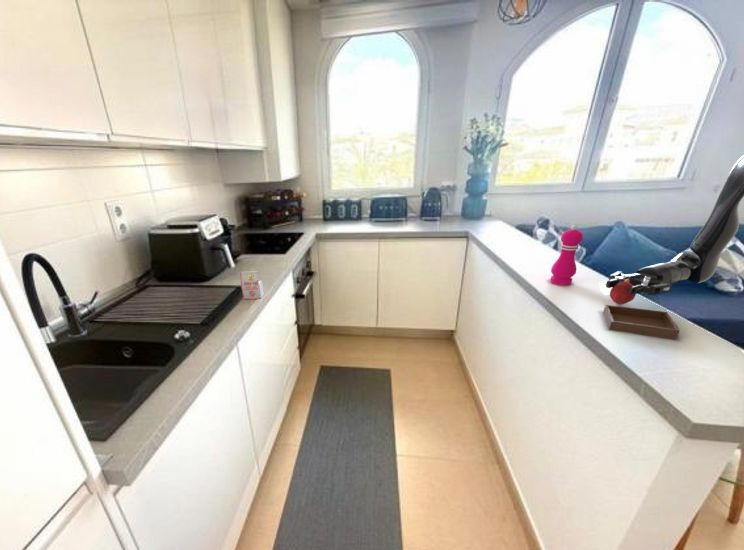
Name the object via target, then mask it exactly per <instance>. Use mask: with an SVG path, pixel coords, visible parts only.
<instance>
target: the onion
mask: <svg viewBox="0 0 744 550" xmlns="http://www.w3.org/2000/svg"><path fill="white" fill-rule="evenodd" d="M629 281H630V280H628V279H625V280H624V281H623V282H622V283H620V282H619V283H618V284H616V285H615V286H613V287H611V288H610V291H609V298H610V299H611V300H612V302H613V303H615V304H616V305H617V306H621V305H624V304H627V303H630V302H632V301H633V300H634V299H635V298H636V295H637V294H633V295H630V294H628V293H629V290H630V288H631V287H633V285H632V284H630V283H629Z"/></svg>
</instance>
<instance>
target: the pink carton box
mask: <svg viewBox="0 0 744 550" xmlns="http://www.w3.org/2000/svg"><path fill="white" fill-rule="evenodd" d="M239 274H240V275H239V277H240V287H241V288H240V289H241V292H242V299H243V300H262V299H263V297H264V296H265V294H264V287H263V281H262V280H263V279H262V278H261V277H262V276H261V274H260V271H258V270H257V271H255V270H253V271H240V272H239Z"/></svg>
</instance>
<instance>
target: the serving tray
mask: <svg viewBox="0 0 744 550" xmlns="http://www.w3.org/2000/svg"><path fill="white" fill-rule="evenodd" d="M602 315H603V318H604V320H605V323H606V325H607V328H608V331H615V332H621V333H629V334H634V335H635V334H636V335H640V336H641V335H642V336H649V337H655V338H662V339H669V340H677V338H678V337H679V334H680V332H681V330H680V329H679V327H678V325H677V324H676V323H675V321H674V320H673V318H672V317H671V316H670V314H669V313H668V312H667V311H661V310H653V309H645V308H637V307H627V306H621V305H611V304H605V305H604V308H603V311H602Z"/></svg>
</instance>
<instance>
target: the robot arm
mask: <svg viewBox="0 0 744 550" xmlns="http://www.w3.org/2000/svg"><path fill="white" fill-rule="evenodd" d="M743 198H744V155H742V156H741V157H740V158H739V159H738V160H737V161H736V162H735V164H734V165H733V166H732V168H731V170H730V171H729V174H728V175H727V178H726V180H725V182H724V184H723V186H722V188H721V190H720V192H719V195H718V197H717V199H716V202H715V204H714V206H713V208H712V210H711V212H710V214H709V217H708V218H707V220H706V221H705V222H704V224H703V226H702V227H701V228H700V230H699V232H698V233H697V234H696V236H695V237H694V239H693V240H692V242H691V243H690V246H689V249H690V251H691V252H692V253H691V252H680V253H678V254H676V255H675V256H674V257H673V258H672V259H671V260H669V261H666V262H662V263H656V264H653V265H649V266H644V267H641V268H639V269H637V270H636V272H634V273H628V274H624V273H623V271H621V270H617V271H616V272H614V273H612V274H610V275H609V278H608V280H606V284H605V287H606V288H607V289H612V288H613V286H615V285H616V284H618V283H622V282H623V281H624V280H625V279H628V280H630V281H629V283H630V284H632V285H633V287H631V288H630V290H629V293H628V294H630V295H633V294H636V295H637V294H645V293H647V295H648V296H655V295H662V294H668V293H669V291H670V288H671V287H672V286H673V285H675V284H679V283H682V282H685V281H689V282H692V283H696V284H700V283H703V282H706V281H708V280H709V279H711V278H712V277H713V276H714V274H715V272H716V270H717V269H718V265H719V261H720V258H721V256H722V253H723V251H724V250H725V249H726V247H727V246H728V245H729V243H731V241H732V239H733V238H734V237H735V235H736V234H737V232H738V231H739V228H740V216H739V206H740V203H741V201H742V200H743Z"/></svg>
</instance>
